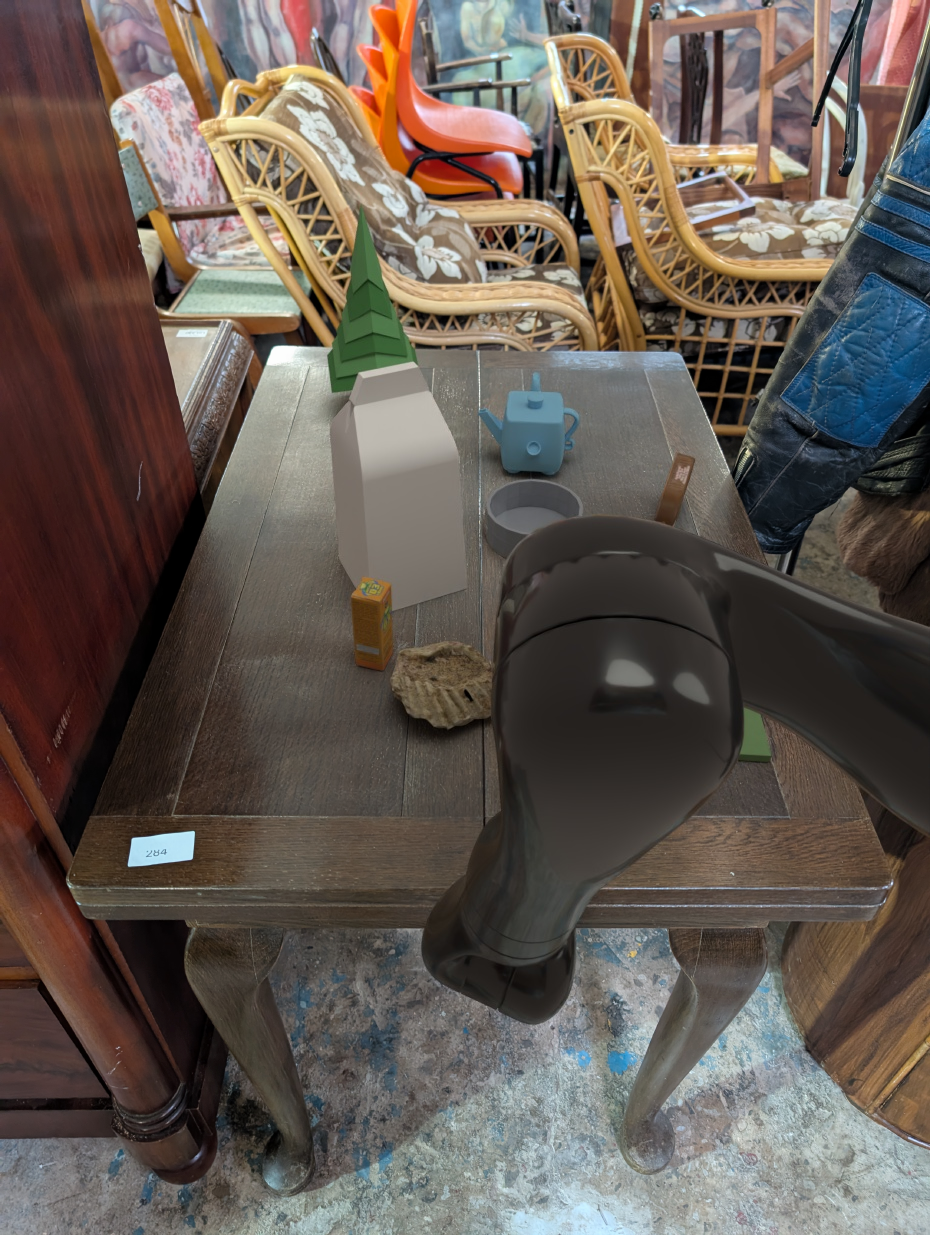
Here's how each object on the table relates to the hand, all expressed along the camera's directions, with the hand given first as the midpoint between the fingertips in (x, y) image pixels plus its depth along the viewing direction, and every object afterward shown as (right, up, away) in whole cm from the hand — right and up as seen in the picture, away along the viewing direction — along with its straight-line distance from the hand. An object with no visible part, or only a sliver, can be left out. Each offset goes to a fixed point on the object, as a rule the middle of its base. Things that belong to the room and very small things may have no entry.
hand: (619, 632), depth 77 cm
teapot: (-6, +24, +38) cm, 45 cm away
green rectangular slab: (+11, -9, +1) cm, 15 cm away
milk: (-23, +7, +19) cm, 30 cm away
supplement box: (-25, -3, +8) cm, 26 cm away
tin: (+11, +13, +26) cm, 31 cm away
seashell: (-17, -7, +3) cm, 19 cm away
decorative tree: (-29, +34, +48) cm, 66 cm away
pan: (-6, +12, +24) cm, 28 cm away
